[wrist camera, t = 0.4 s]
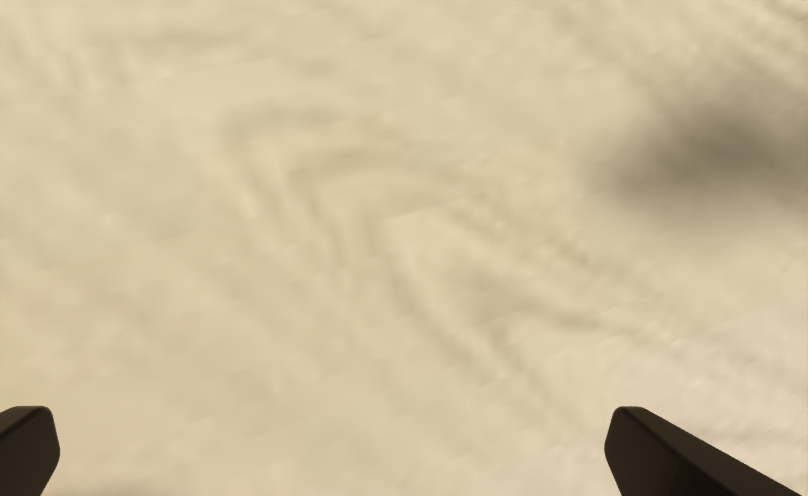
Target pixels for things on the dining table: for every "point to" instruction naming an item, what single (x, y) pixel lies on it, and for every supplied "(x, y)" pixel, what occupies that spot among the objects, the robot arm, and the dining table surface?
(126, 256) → the dining table surface
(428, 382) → the dining table surface
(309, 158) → the dining table surface
